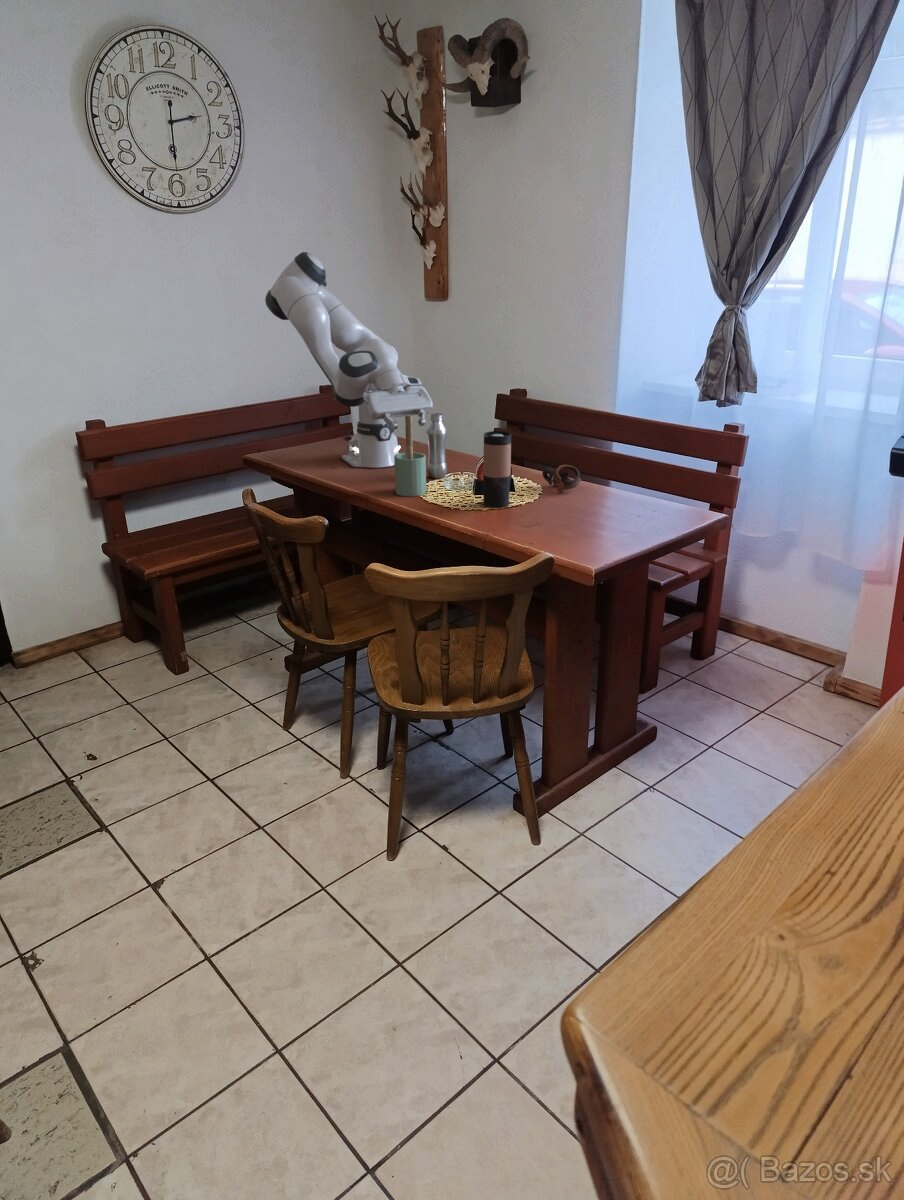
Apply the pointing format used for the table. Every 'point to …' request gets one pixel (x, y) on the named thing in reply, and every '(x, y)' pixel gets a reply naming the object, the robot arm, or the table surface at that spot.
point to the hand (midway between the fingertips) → (409, 426)
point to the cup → (410, 474)
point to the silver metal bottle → (436, 447)
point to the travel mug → (496, 468)
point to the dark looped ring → (562, 477)
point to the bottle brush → (409, 437)
